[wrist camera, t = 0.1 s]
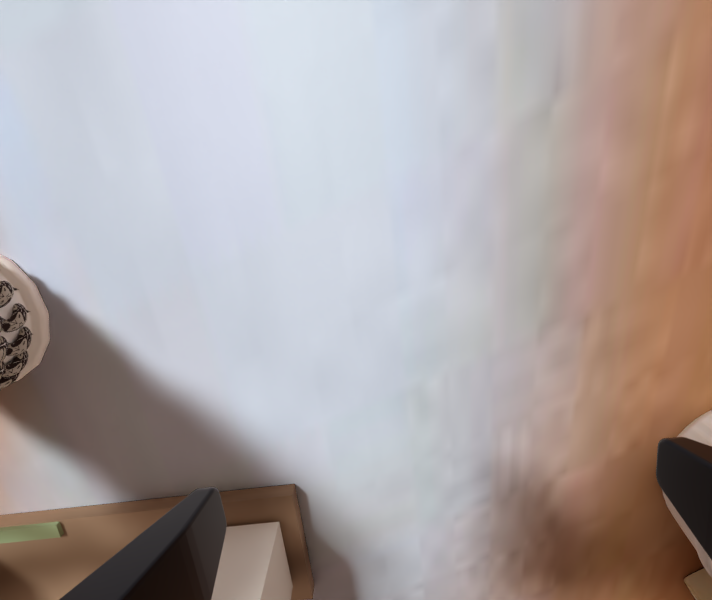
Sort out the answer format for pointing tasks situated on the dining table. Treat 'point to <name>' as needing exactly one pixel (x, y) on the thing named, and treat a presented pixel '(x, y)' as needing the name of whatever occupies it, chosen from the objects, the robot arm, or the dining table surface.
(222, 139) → the dining table surface
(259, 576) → the block
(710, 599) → the skincare box
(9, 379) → the decorative candle
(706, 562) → the ramekin
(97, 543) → the gauge board
